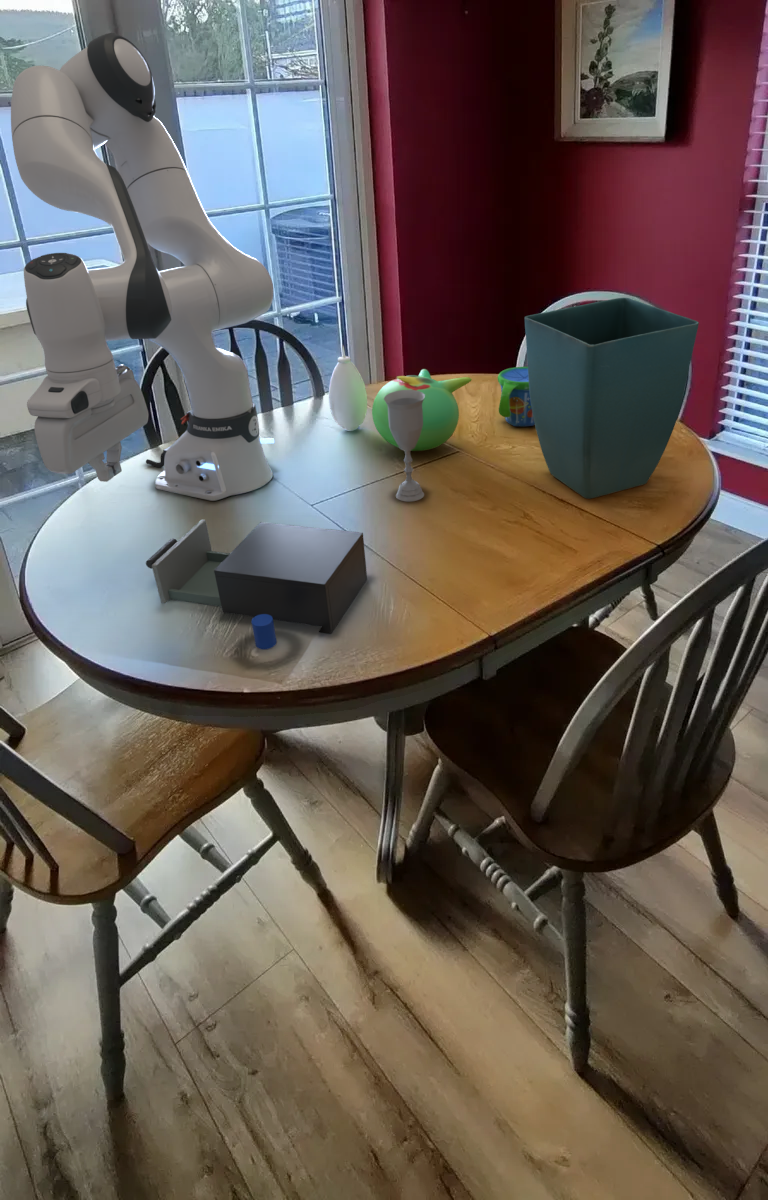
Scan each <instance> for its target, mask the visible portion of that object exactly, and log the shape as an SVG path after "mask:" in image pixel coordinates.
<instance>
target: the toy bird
mask: <svg viewBox="0 0 768 1200" xmlns="http://www.w3.org/2000/svg"><path fill="white" fill-rule="evenodd" d="M472 381H473V380H472V378H471V377H468V376H463V377H456V378H449V379H443V380H437V379H434V378H432V377H431V373H430V371H429V370H428V369H426V368H422V369H421V370H420V372H419V374H418V375H416V374H409V375H406V376H405V375H398V376H396V378H395V379H392V380H391V381H389V382H387V383H386V384H385V385H383V386H382V387H381V388H380V389H379V391H378V392H377V394H376V395H375V398H374V400H373V403H372V409H371V416H372V421H373V424H374V427H375V429H376V431H377V433H378V434H379V435H380V436H381V437H382V439H384V441H386V442H387V443H389V444H390V445H392V446H394V447H397V448H399V446H398V445H397V443H396V441H395V439H394V438H393V435H392V433H391V431H390V428H389V420H388V405H387V404H386V402H385V400H384V397H385V396H386V395H388V394H390V393H392V392H395V391H400V390H416V391H420V392H422V393H423V394H424V395H425V398H424V400H423V402H422V410H423V427H422V430H421V434H420V437H419V439H418V442H417V444H416V446H415V448H414V449H412V450H411V451H412V452H425V451H430V450H433V449H435V448H437V447H440V446H441V445H443V444H445V443H446V442H447V441H448V440H449V439H450V438H451V437H452V435H453V434H454V433H455V432H456V429H457V427H458V424H459V419H460V410H459V405H458V402H457V399H456V397H455V396H454V394H453V393H454V392H456V391H457V390H459V389H460V388H462V387H464V386H466V385H468V384H469V383H471V382H472ZM399 449H400V448H399ZM411 451H410V452H411Z"/></svg>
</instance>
